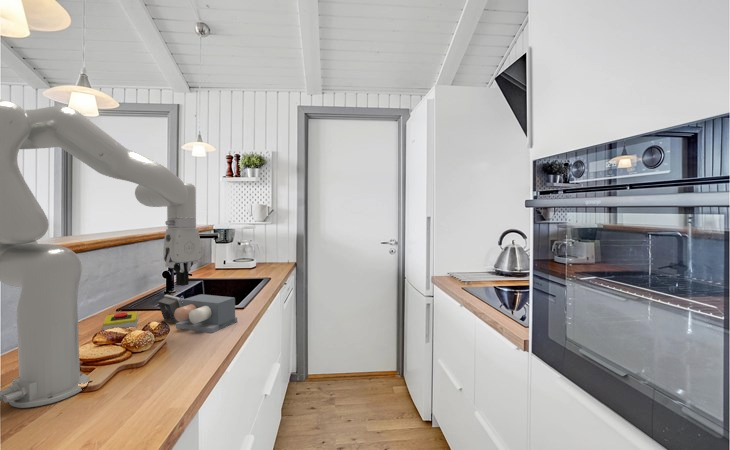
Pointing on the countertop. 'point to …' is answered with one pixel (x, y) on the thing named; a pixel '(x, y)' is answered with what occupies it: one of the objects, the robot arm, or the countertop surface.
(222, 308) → the block
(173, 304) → the electrical switch
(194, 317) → the knob cream
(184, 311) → the knob terracotta
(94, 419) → the countertop surface
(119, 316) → the emergency button
